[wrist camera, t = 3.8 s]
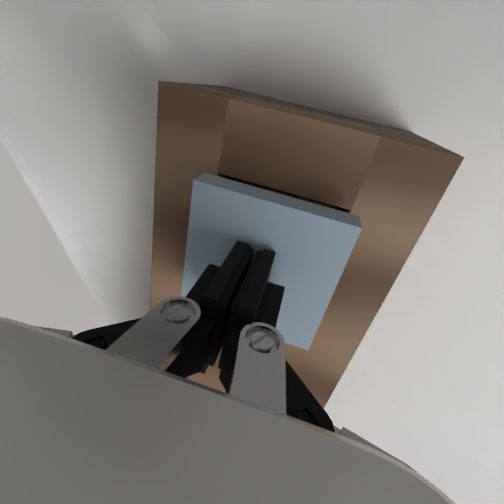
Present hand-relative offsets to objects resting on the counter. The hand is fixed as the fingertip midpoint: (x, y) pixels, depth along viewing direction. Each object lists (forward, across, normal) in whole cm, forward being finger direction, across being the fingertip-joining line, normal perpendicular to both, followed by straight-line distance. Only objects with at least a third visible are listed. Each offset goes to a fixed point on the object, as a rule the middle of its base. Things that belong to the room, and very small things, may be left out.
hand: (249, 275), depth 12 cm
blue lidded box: (+9, 0, 0) cm, 9 cm away
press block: (+10, 0, +8) cm, 13 cm away
